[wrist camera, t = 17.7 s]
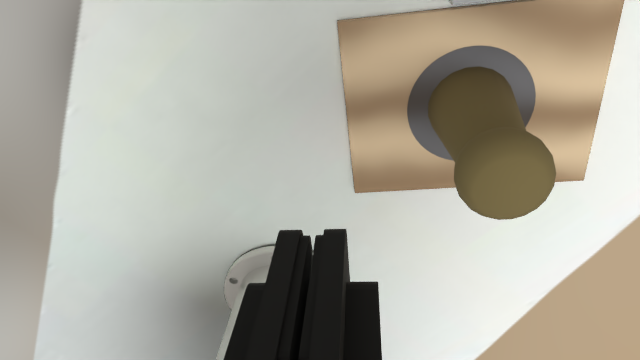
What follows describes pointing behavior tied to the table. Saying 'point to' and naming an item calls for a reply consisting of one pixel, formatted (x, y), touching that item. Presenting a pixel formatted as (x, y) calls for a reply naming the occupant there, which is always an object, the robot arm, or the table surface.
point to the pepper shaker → (490, 144)
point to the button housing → (467, 1)
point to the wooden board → (472, 51)
